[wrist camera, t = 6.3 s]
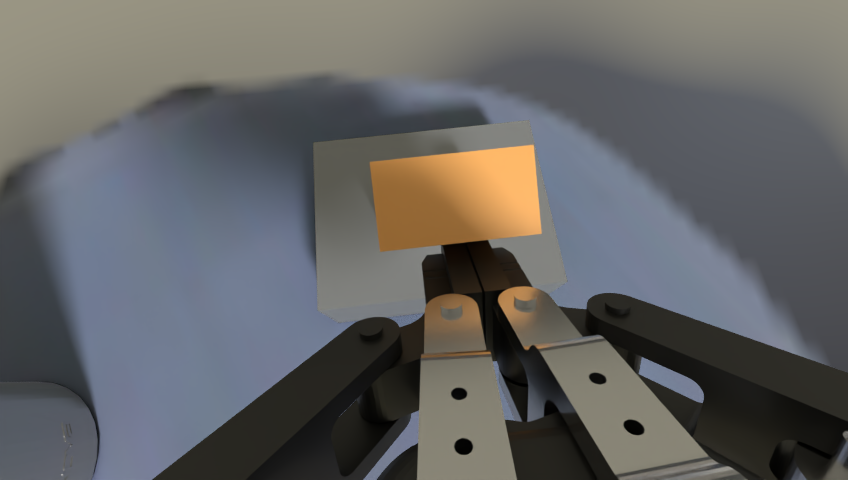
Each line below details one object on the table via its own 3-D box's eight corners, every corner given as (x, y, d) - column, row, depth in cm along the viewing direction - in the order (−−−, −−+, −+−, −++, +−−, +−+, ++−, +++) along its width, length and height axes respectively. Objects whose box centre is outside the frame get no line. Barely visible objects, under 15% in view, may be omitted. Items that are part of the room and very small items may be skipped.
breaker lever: (394, 234, 21) (380, 251, 11) (389, 188, 21) (369, 161, 10) (476, 225, 21) (541, 234, 11) (471, 180, 21) (533, 144, 11)
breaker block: (338, 322, 25) (300, 299, 17) (332, 181, 28) (297, 110, 21) (541, 299, 25) (589, 266, 18) (512, 162, 29) (542, 85, 21)
